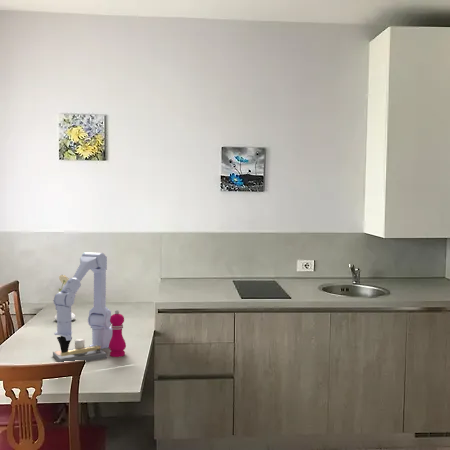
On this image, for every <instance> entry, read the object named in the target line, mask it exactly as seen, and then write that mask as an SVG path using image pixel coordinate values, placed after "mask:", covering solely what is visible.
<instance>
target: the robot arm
mask: <svg viewBox="0 0 450 450" xmlns="http://www.w3.org/2000/svg"><path fill="white" fill-rule="evenodd" d="M107 257H108V256H106V254H105V253H103V252H89V251H88V252H87V251H85V252H83V253H82V254H81V256H80V258H79V266H77V269H76V271H75V273H74V275H73V277H70V278H69V279H68V281H67V283H66V284H65V285H63V286H62V289H61V292H60V291H58V292H57V293H56V294H55V295H54V298H53V300H52V301H53V304H54V306H55V310H56V315H57V320H56V332H53V333H54V335H55V336H57V337H56V339H57V342H58V343H59V346H60V347H59V348H60V351H61V352H65V351H68V350H69V348H70V344H71V343H72V342H71V341H72V339H73V336H72V334H73V331H72V328H73V327H72V320H71V312H72V306H73V305H74V303H75V298H76V294H77V292H78V291H79V289H80V288H81V287H82V286H81V285H82V284H81V282H82V280H83V279H84V277H85V275H87V273H88V272H89V270H91V272H92V273H93V307H92V308H90V310H89V312H88V317H87V323H88V325H89V326H90V329H91V334H92V336H91V343H92V344H90V345H89V346H88V347H90V346H97V345H100V346H101V350H103V349H107V348H108V349H109V343H110V340H111V338H112V333H113V331H112V329H111V325H112V324H111V322H110V318H111V316H112V310H110V309H109V307H107V305H106V301H107V297H106V296H107V294H106V292H107V291H106V290H107V289H106V288H107V287H106V286H107V282H106V281H107V270H108V258H107Z"/></svg>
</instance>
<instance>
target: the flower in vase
mask: <svg viewBox="0 0 450 450" xmlns="http://www.w3.org/2000/svg"><path fill="white" fill-rule="evenodd" d="M58 278H59V281H60V282H61V283H62V285H61V288H58V292H61V290H62V289H63V287H64V286H65V284H66V283H67V281H68V279H70V278H68V277H67V276H66V275H64V274H61V275H58ZM76 318H77V317H76V315H75V313H73V312H72V311H71V321H73V320H75V319H76ZM53 319H54V320H55V321H57V314H55V315H54V317H53Z"/></svg>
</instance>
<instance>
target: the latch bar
mask: <svg viewBox="0 0 450 450" xmlns="http://www.w3.org/2000/svg"><path fill="white" fill-rule="evenodd" d="M87 347H88V348H82V349H76V350H70V351H65V352H61V356H67V355H73V354H78V353H84V352H89V351H95V350H102V349H101V346H100V345H97V346H93V347H90V346H87Z"/></svg>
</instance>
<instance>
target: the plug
mask: <svg viewBox="0 0 450 450" xmlns="http://www.w3.org/2000/svg"><path fill="white" fill-rule="evenodd" d="M84 347H85V339H84V338H76V339H74V348H73V349H74V350H76V349H82V348H84ZM86 353H87V352H84V353H78V354H75V355H81V354H86Z"/></svg>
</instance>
